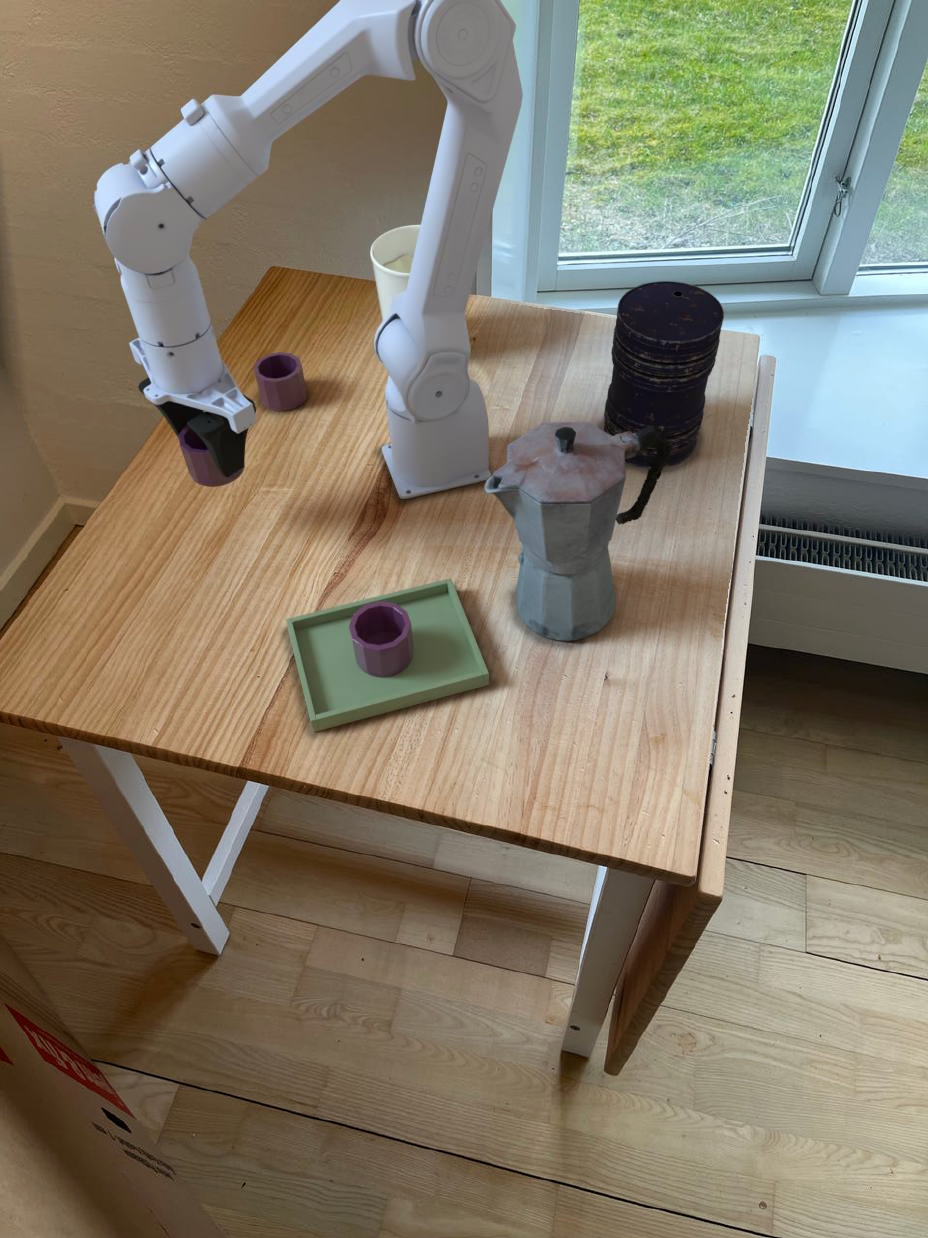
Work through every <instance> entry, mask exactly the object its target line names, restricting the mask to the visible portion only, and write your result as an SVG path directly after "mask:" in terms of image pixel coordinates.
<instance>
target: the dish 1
mask: <svg viewBox="0 0 928 1238" xmlns="http://www.w3.org/2000/svg"><path fill="white" fill-rule="evenodd" d="M178 437H179V438H178ZM178 437H177V438H178V444H179V447H180V450H181V453H182V455H183V460H184V462H185V465H186V469H187V471H188V474H189V475H190V477H191V479H192V480H193V481H194V482H195V483H197V484H198V485H200V486H203V487H207V488H208V487H209V488H215V487H216V488H218V487H223V486H226V485H229V484H231V483H233V482H235V481H236V480H237V479H238V478H239V477H241V475H242V474H243V473H244V470H245V468H246V461H244V468H242V469H240V470H239V471H237V472H236V473H234V474H233V475H231V476H230V477H228V478H226V477H225V476H223V475H222V474H221V472H220V471H219V470H218V468H217V466H216V464H215V462H214V460H213V458H212V456H211V453H210V451H209V450H208V448H207V446H206V445H205V443H204V442H203V440H202V439H201V438H200V437H199V436H198V435H197V433H196V432H194V431H193V430H192V429H191V428H190V427H188V425H185V426H184V427H183V429H182V431H181V432H180V434H179V436H178Z"/></svg>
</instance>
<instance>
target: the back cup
mask: <svg viewBox="0 0 928 1238" xmlns="http://www.w3.org/2000/svg"><path fill="white" fill-rule="evenodd" d="M253 372H254V377H255V380H256V381H255V382H256V385H257V389H258V393H259V397H260V401H261V403H262V405H263V406H264V407H265V408H266V409H268V410H271V411H274V412H287V411H292V410H294V409H297V408H298V407H300V406H302V405H303V403H304V402H305V401H306V399H307V395H308V391H307V385H306V380H305V374H304V370H303V365H302V362H301V359H300V357H298V356H296V355H295V354H293V353H290V352H283V351H278V352H273V353H268V354H266V355H264V356H262V357H260V358H259V359H258V360H257V361H255V364H254V366H253Z"/></svg>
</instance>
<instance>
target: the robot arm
mask: <svg viewBox="0 0 928 1238" xmlns="http://www.w3.org/2000/svg"><path fill="white" fill-rule="evenodd" d="M516 29H517V24H516V22H515V21H514V19H513V18H512V16H511V14H510V13H509V11H508V10H507V9H506V7H505V6H504V4H503V2H502V1H501V0H339V1H338V2H337V3H336V4H335V5H334V6H333V7H332V8H331V9H330V10H329V11H328V12H327V13H326V14H324V16H322V17H321V18H320V19H319V20H318V21H317V22H316V24H314V25H313V26H312V27H311V28H310V29H309V30H308V31H307V32H306V33H305V34H304V35H303V36H302V37H301V38H299V40H298V41H296V42H295V43H294V45H292V46H291V47H290V48H289V49H288V50H287V51H286V52H285V53H284V54H283V55H282V56H281V57H280V58H279V59H278V60H277V61H276V62H274V64H272V66H271V67H269V68H268V69H267V70H266V71H265V72H264V73H263V74H262V75H261V76H260V77H259V78H258V79H257V80H256V81H255V82H253V83H252V84H251V86H250V87H248V88H247V90H245V91H244V92H243V93H242V94H241V95H237V96H235V95H224V94H211V95H210V96H209V97H208V98H206V99H205V100H204V101H203V102H202V103H201V104H200V103H199V102H198V100H196V99H195V98H191V99H190V100H189V101H188V102H187V103H186V104H184V105H183V106H182V107H181V108H180V112H181V115H182V117H183V119H182V120H181V121H179V123H177V124H176V125H174V127H172V129H170V130H169V131H168V132H167V133H165V134H164V135H163V136H161V138H160V139H159V140H158V141H156V142H155V143H154V144H153V145H152V146H150V147H149V148H148V149H146V150H145V152H143V150H141V149H137V150H136V151H135V152H133V153H132V154H131V155H129V161H128V163H126V164H124V162H121V163H120V162H119V163H117V164H115V165H113V166H111V167H110V168H108V169H107V170H105V172H104V173H103V174H101V176H100V178H99V179H98V181H97V184H96V190H94V204H93V209H94V211H95V214H96V216H97V218H98V219H99V223H100V227H101V230H102V233H103V237H104V240H105V244H106V245H107V247H108V249H109V250H110V253H111V254H112V256H113V257H114V263H115V267H116V269H117V272H118V273H119V274H120V284H121V288H122V291H123V293H124V296H125V299H126V303H127V306H128V308H129V309H128V310H129V312H130V314H131V317H132V320H133V322H134V327H135V329H136V333H137V335H138V337H137V338H135V339H133V340H131V341H130V342H128V344H129V347H130V350H131V353H132V356H133V359H134V361H135V362H136V364H139V365H140V366H143V368H144V370H145V372H146V374H147V376H148V377H147V378H145V379H143V380H142V381H140V383H139V384H138V386H137V388H138V391H139V392H140V393H141V394H142V395H144V397H145V398H146V400H148V401H150V402H151V403H152V405H154V406H155V407H156V408H157V409H158V411H159V412H160V413H161V414H162V416H163V417H164V418H165V420H166V422H167V423H168V424H169V426H170V427H171V429H172V431H173V432H174V434H175V435H176V437H177V438H178V439H179V437H178V436H179V434H180V432H181V431H182V429H183V427H184V426H185V425H188V427H190V428H191V429H192V430H193V431H194V432H196V433H197V435H198V436H199V437H200V438H201V439H202V440H203V442H204V443H205V445H206V446H207V448H208V450H209V451H210V453H211V456H212V458H213V460H214V462H215V464H216V466H217V468H218V470H219V471H220V472H221V474H222V475H223V476H225V477H226V478H228V477H230V476H231V475H233V474H234V473H236V472H237V471H239V470H240V469H242V468H244V461H245V460H246V459H245V458H246V445H247V444H246V443H247V435H248V431H249V429H250V428H251V427H252V426H254V425H255V424H257V423H258V421H257V416H256V413H257V406H256V403H255V401H254V400H253V399H251V398H250V397H248V396H246V395H245V394H244V393H242V391H241V389H240V388H239V386H238V384H237V382H236V381H235V378H234V377H233V375H232V373H231V371H230V370H229V368H228V366H227V365H226V362H225V361H224V360H223V358H222V356H221V352H220V350H219V345H218V342H217V338H216V334H215V330H214V327H213V323H212V318H211V316H210V312H209V309H208V306H207V302H206V298H205V293H204V291H203V287H202V283H201V279H200V275H199V271H198V268H197V265H196V264H195V262H194V261H193V260H192V259H191V254H190V252H191V249H192V244H193V237H194V234H195V232H196V230H198V229H199V228H200V227H201V225H203V223H205V222H207V220H208V219H210V218H211V217H212V216H213V215H214V214H216V213H217V212H218V211H219V210H220V209H222V208H223V207H224V206H226V205H227V204H228V203H229V202H230V201H232V199H234V198H235V197H236V196H237V195H239V194H240V193H241V192H242V191H244V189H245V188H247V187H248V186H249V185H251V184H252V183H254V181H256V180H257V179H258V178H259V177H260V176H262V175H263V174H264V173H266V172H267V171H268V169H269V166H270V158H271V150H272V145H273V142H274V141H275V140H277V139H278V138H279V137H281V136H282V135H284V134H285V133H286V132H288V131H289V130H290V129H292V128H293V127H294V126H296V125H297V124H299V123H300V122H301V121H303V120H304V119H306V118H307V117H309V116H310V115H311V114H312V113H314V112H315V111H316V110H318V109H319V108H321V107H322V106H324V105H325V104H327V102H329V101H330V100H332V99H333V98H334V97H336V96H337V95H339V94H340V93H341V92H343V91H345V89H347V88H348V87H350V86H351V85H352V84H354V83H355V82H356V81H358V80H359V79H360V78H362V77H365V76H373V77H374V76H375V77H382V78H388V79H395V80H403V81H411V82H412V81H416V79H417V77H416V73H415V69H414V64H413V62H415V61H416V62H417V61H420V64H421V65H422V67H423V68H424V69H425V70H426V71H427V72H428V74H429V75H431V77H433V79H434V81H435V83H436V84H437V85H438V87H439V89H440V91H441V92H442V93H443V95H444V97H445V99H446V102H447V106H446V110H445V113H444V114H445V115H444V119H443V124H442V127H441V132H440V136H439V137H440V138H439V142H438V146H437V150H436V155H435V160H434V165H433V169H432V172H431V173H432V174H431V177H430V182H429V186H428V190H427V196H426V199H425V204H424V209H423V213H422V217H421V218H422V219H421V222H420V225H421V226H420V231H419V235H418V240H417V244H416V249H415V253H414V258H413V262H412V267H411V271H410V276H409V280H408V285H407V289H406V291H404V292H402V293H399V294H397V295H395V296H394V297H393V299H392V304H391V308H390V311H389V313H388V315H387V316H386V318H385V319H384V321H383V322H381V323H380V324H379V326H378V327H377V330H376V331H375V333H374V334H375V335H374V338H373V349H374V353H375V355H376V357H377V359H378V360H379V362H380V363H382V364H383V366H384V369H385V370H386V372H388V376H387V382H386V386H385V390H384V398H385V407H386V416H387V425H388V435H389V442H390V443H389V444H385V445H383V446H381V453H382V455H383V458H384V461H385V463H386V466H387V468H388V471H389V473H390V476H391V479H392V481H393V484H394V487H395V489H396V493H397V494H398V497H399V498H400V499H401V500H406V499H412V498H416V497H419V496H424V495H428V494H433V493H438V492H442V491H446V490H451V489H454V488H458V487H463V486H467V485H473V484H476V483H480V482H486V481H487V480H488V479H489V478H490V477H491V476H492V472H491V471H490V453H489V452H490V449H489V448H490V446H489V445H490V442H489V441H490V440H489V439H490V436H489V433H490V432H489V417H488V411H487V410H488V409H487V406H486V402H485V397H484V395H483V392H482V390H481V387H480V385H479V383H478V382H477V381H476V380H475V379H471V378H470V374H469V362H470V361H469V360H470V357H471V353H472V348H471V341H470V337H469V332H468V331H469V330H468V325H467V320H466V311H467V310H466V309H467V305H468V302H469V298H470V295H471V291H472V288H473V283H474V280H475V276H476V272H477V268H478V266H479V261H480V258H481V255H482V252H483V247H484V243H485V239H486V236H487V232H488V229H489V225H490V222H491V219H492V214H493V211H494V207H495V203H496V201H497V195H498V192H499V189H500V185H501V181H502V178H503V174H504V171H505V168H506V163H507V160H508V157H509V152H510V148H511V146H512V145H511V144H512V141H513V138H514V135H515V130H516V127H517V124H518V120H519V115H520V112H521V108H522V103H523V95H524V93H523V87H522V83H521V77H520V71H519V67H518V66H519V65H518V61H517V57H516V51H515V45H514V38H515V32H516ZM245 462H246V461H245ZM244 469H245V468H244Z"/></svg>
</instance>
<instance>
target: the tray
mask: <svg viewBox="0 0 928 1238" xmlns="http://www.w3.org/2000/svg"><path fill="white" fill-rule="evenodd" d="M379 601H383V602H389V603H395V604H397V605H398V606H400V607H401V608H403V609H404V610H405V611H407V613H408V616H409V619H410V621H411V626H412V635H413V644H414V650H413V658H412V661H411V663H410V664H409V665H408V667H407V668H406V669H405V670H403V671H402V672H400V673H399V674H397V675H394V676H390V677H374V676H371V675H369V674H367V673H365V672H364V671H362V670H361V669H360V668H359V666H358V665H357V662H356V659H355V655H354V651H353V646H352V641H351V636H350V631H349V625H350V622H351V619H352V617H353V614H354V613H356V612H357V611H358V610H359V609H361V608H362V607H363V606H364V605H367V604H371V603H375V602H379ZM285 622H286V626H287V631H288V634H289V639H290V643H291V647H292V650H293V655H294V659H295V664H296V667H297V672H298V675H299V676H298V677H299V680H300V685H301V688H302V691H303V696H304V700H305V704H306V708H307V712H308V717H309V720H310V724H311V728H312V732H313V733H316V732H320V731H323V730H327V729H331V728H334V727H338V726H343V725H346V724H349V723H353V722H356V721H357V722H358V721H360V720H364V719H367V718H372V717H375V716H379V715H383V714H386V713H390V712H393V711H397V710H401V709H405V708H408V707H409V708H410V707H412V706H416V705H419V704H423V703H427V702H430V701H434V700H439V699H442V698H445V697H449V696H453V695H457V694H461V693H464V692H468V691H471V690H475V689H479V688H482V687H486V686H489V685H490V672H489V670H488V668H487V665H486V662H485V659H484V657H483V655H482V652H481V649H480V647H479V645H478V642H477V640H476V637H475V634H474V632H473V629H472V627H471V625H470V623H469V619H468V616H467V615H466V612H465V610H464V607H463V605H462V602H461V600H460V597H459V595H458V591H457V589H456V587H455V584H454V582H453V580H452V577H449V578H446V579H442V580H437V581H434V582H433V581H432V582H430V583H426V584H421V585H418V586H414V587H409V588H405V589H401V590H398V591H393V592H389V593H384V594H382V595H377V596H373V597H370V598H365V599H361V600H358V601H353V602H350V603H349V602H348V603H345V604H341V605H336V606H334V607H333V606H332V607H330V608H325V609H320V610H316V611H313V612H309V613H305V614H300V615H297V616H292V617H289V618H285Z"/></svg>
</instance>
